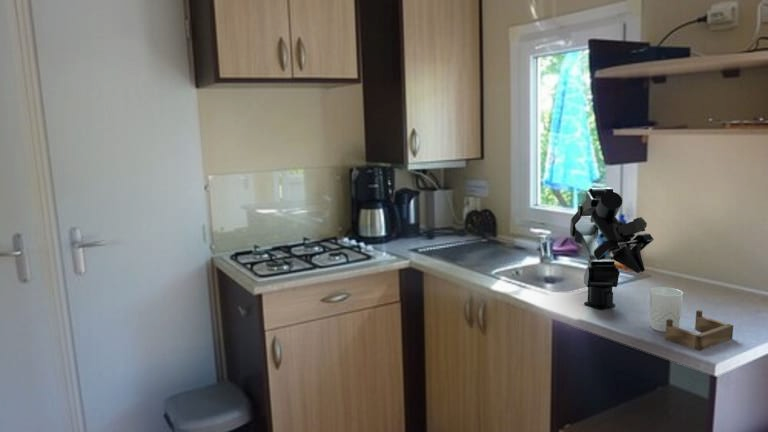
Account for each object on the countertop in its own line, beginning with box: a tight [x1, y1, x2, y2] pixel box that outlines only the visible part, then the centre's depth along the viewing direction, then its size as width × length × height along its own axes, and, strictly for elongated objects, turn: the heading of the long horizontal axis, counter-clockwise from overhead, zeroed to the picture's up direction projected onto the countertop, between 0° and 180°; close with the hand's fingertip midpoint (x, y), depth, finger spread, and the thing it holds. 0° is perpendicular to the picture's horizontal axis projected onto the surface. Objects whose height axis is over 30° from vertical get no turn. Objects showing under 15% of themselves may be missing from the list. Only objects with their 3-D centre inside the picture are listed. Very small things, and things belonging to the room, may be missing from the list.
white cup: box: [649, 286, 684, 333], centre depth 155 cm, size 8×8×10 cm
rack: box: [664, 309, 734, 352], centre depth 147 cm, size 9×13×5 cm
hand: (641, 271), depth 160 cm, fingers closed
